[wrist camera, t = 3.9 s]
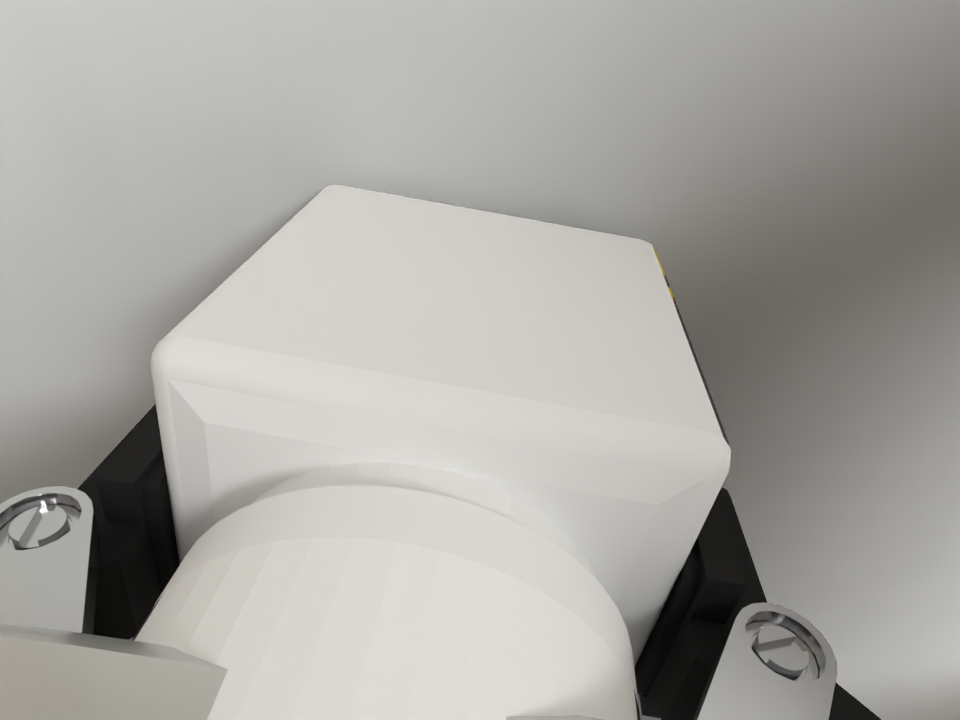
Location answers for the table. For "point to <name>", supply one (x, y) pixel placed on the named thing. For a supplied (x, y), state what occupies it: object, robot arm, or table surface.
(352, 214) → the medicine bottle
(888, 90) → the table surface
